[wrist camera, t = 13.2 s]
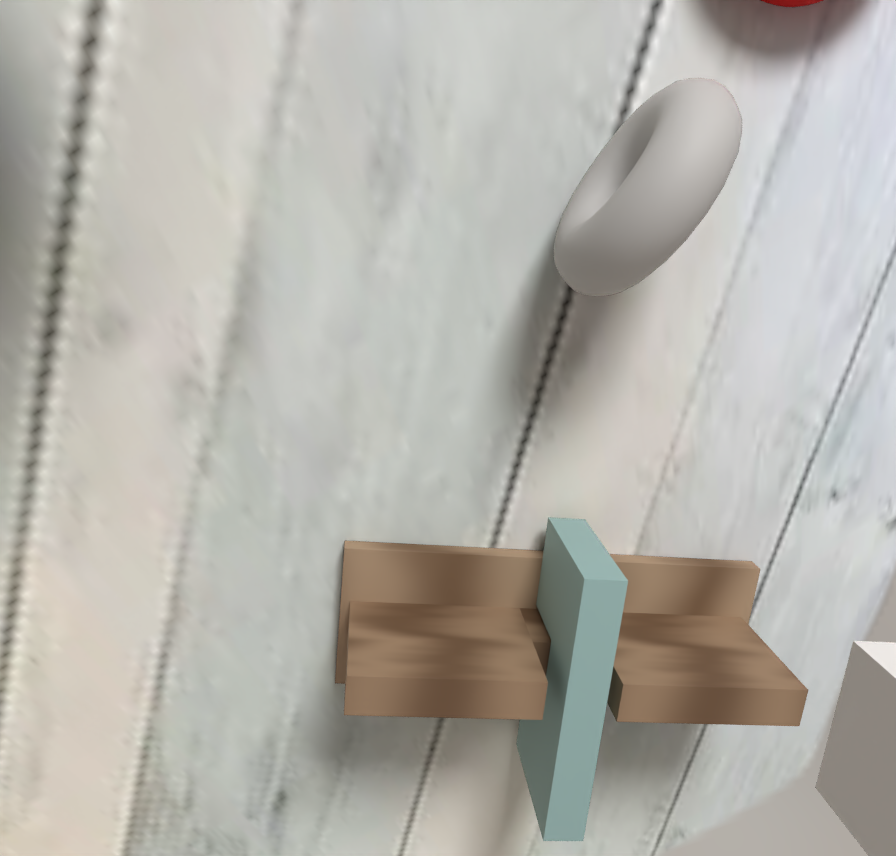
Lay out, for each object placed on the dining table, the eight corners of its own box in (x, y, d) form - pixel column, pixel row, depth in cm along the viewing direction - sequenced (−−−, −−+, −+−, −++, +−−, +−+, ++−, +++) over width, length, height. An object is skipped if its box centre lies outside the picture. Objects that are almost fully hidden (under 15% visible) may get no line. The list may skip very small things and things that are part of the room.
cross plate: (550, 744, 45) (583, 841, 38) (516, 744, 45) (543, 840, 38) (585, 519, 42) (628, 580, 35) (548, 517, 41) (584, 578, 34)
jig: (335, 672, 44) (328, 771, 36) (345, 540, 42) (339, 615, 34) (725, 684, 47) (795, 778, 39) (751, 561, 44) (831, 634, 37)
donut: (576, 299, 39) (643, 327, 30) (520, 261, 39) (570, 278, 29) (694, 123, 38) (806, 93, 28) (639, 79, 37) (734, 34, 27)
